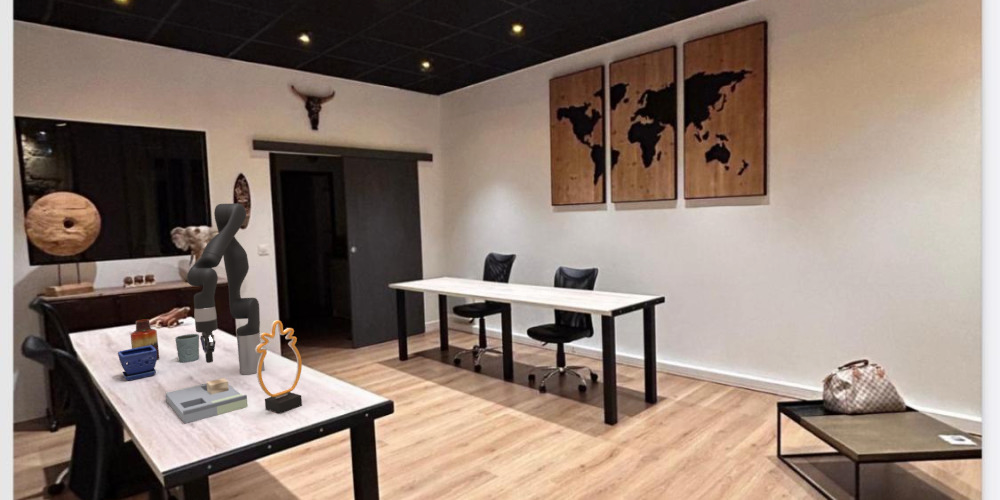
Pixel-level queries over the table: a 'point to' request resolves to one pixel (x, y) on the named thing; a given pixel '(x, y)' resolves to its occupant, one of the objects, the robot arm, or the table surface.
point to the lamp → (285, 398)
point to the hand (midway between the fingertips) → (209, 362)
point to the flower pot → (138, 362)
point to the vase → (144, 336)
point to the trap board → (204, 402)
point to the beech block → (217, 386)
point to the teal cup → (187, 347)
